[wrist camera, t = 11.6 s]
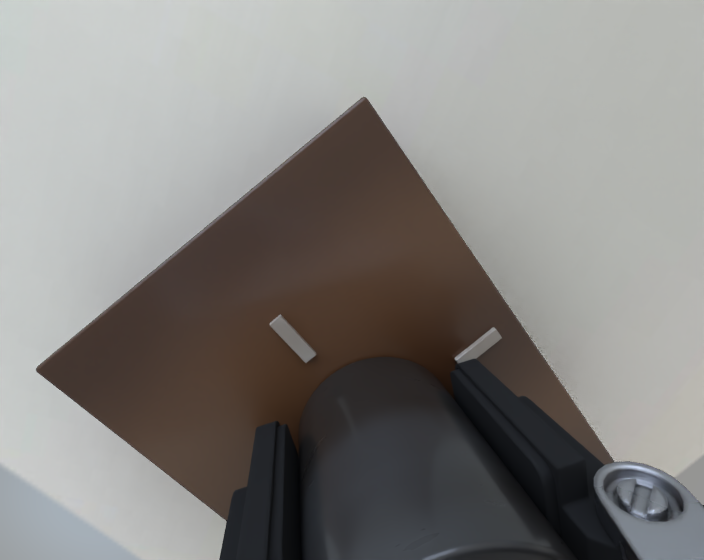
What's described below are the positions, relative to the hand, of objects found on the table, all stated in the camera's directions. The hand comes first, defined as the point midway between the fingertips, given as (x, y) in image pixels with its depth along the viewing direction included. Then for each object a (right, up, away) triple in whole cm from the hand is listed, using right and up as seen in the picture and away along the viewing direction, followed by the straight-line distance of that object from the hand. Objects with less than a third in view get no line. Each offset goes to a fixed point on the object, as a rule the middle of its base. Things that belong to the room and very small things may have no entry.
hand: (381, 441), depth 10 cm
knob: (0, 0, +1) cm, 1 cm away
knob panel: (-1, +1, +3) cm, 4 cm away
